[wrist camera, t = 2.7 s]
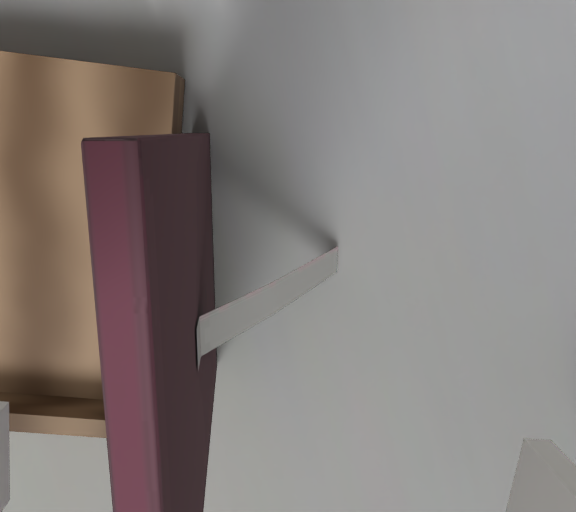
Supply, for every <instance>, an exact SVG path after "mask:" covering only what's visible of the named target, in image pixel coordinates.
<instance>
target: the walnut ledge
mask: <svg viewBox="0 0 576 512" xmlns="http://www.w3.org/2000/svg"><path fill="white" fill-rule="evenodd" d="M184 88H185V79H183V78H182V77H180V76H179V75H178V74H176V73H171V72H163V71H156V70H148V69H140V68H132V67H124V66H116V65H108V64H100V63H92V62H84V61H77V60H69V59H61V58H53V57H45V56H37V55H29V54H21V53H13V52H5V51H0V401H4V402H9V431H15V432H29V433H43V434H57V435H72V436H86V437H100V438H107V436H106V425H105V413H104V402H103V391H102V379H101V368H100V356H99V345H98V333H97V322H96V311H95V299H94V288H93V276H92V265H91V254H90V242H89V231H88V219H87V208H86V197H85V185H84V174H83V162H82V151H81V141H82V139H83V138H90V137H113V136H136V135H159V134H181V132H182V117H183V103H184Z"/></svg>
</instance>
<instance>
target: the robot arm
mask: <svg viewBox="0 0 576 512" xmlns="http://www.w3.org/2000/svg"><path fill="white" fill-rule="evenodd" d="M9 500H10V466H9V402H4V401H0V512H2V511H3V509H4V508H5V506H6V504H7V503H8V501H9ZM506 512H576V466H575V465H574V464H573V462H572V461H571V460H570V459H569V458H568V457H567V456H566V455H565V454H564V453H563V452H562V451H561V450H560V449H559V448H558V447H557V446H556V445H555V444H554V443H553V441H552V440H542V439H528V438H524V440H523V444H522V448H521V452H520V456H519V460H518V464H517V468H516V472H515V476H514V480H513V484H512V488H511V492H510V496H509V500H508V504H507V508H506Z"/></svg>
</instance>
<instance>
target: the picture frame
mask: <svg viewBox="0 0 576 512" xmlns="http://www.w3.org/2000/svg"><path fill="white" fill-rule="evenodd" d="M81 151H82V162H83V174H84V185H85V197H86V208H87V219H88V231H89V242H90V254H91V265H92V276H93V288H94V299H95V311H96V322H97V333H98V345H99V356H100V368H101V379H102V391H103V402H104V413H105V425H106V436H107V448H108V459H109V470H110V482H111V493H112V505H113V512H203V508H204V497H205V486H206V476H207V465H208V455H209V444H210V434H211V423H212V412H213V402H214V391H215V381H216V370H217V353H216V347H218V346H220V345H222V344H223V343H225V342H227V341H229V340H230V339H232V338H234V337H236V336H237V335H239V334H241V333H243V332H244V331H246V330H248V329H250V328H251V327H253V326H255V325H257V324H258V323H260V322H262V321H263V320H265V319H267V318H269V317H270V316H272V315H274V314H275V313H277V312H278V311H280V310H281V309H283V308H284V307H286V306H287V305H289V304H290V303H292V302H293V301H295V300H296V299H298V298H299V297H301V296H302V295H304V294H305V293H307V292H308V291H310V290H311V289H313V288H314V287H316V286H317V285H319V284H320V283H321V282H323V281H324V280H326V279H327V278H329V277H330V276H332V275H333V274H335V273H336V272H337V261H338V246H337V247H336V248H334V249H332V250H330V251H328V252H327V253H325V254H323V255H321V256H319V257H317V258H316V259H314V260H312V261H310V262H308V263H307V264H305V265H303V266H301V267H299V268H297V269H296V270H294V271H292V272H290V273H288V274H287V275H285V276H283V277H281V278H279V279H277V280H276V281H274V282H272V283H270V284H268V285H265V286H263V287H261V288H259V289H257V290H255V291H253V292H251V293H248V294H246V295H244V296H242V297H240V298H238V299H236V300H234V301H231V302H229V303H227V304H225V305H223V306H221V307H219V308H217V309H215V289H214V257H213V225H212V193H211V161H210V134H209V133H182V134H159V135H136V136H113V137H90V138H83V139H82V141H81Z"/></svg>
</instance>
